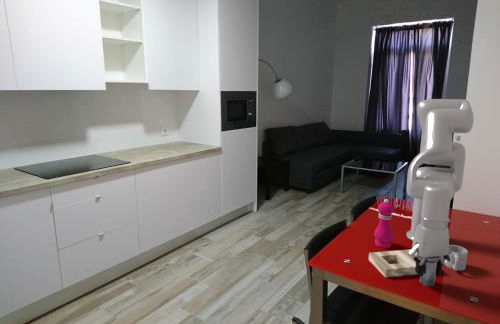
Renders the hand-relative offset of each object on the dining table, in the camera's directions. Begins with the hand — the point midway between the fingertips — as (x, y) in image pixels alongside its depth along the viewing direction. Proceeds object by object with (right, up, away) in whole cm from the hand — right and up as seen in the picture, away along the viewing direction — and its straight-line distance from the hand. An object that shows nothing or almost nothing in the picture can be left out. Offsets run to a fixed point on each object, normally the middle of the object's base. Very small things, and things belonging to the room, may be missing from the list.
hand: (428, 273), depth 108 cm
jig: (-3, -1, +11) cm, 12 cm away
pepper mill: (-4, +2, +28) cm, 28 cm away
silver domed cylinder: (0, -3, +1) cm, 4 cm away
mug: (+15, -2, +10) cm, 18 cm away
